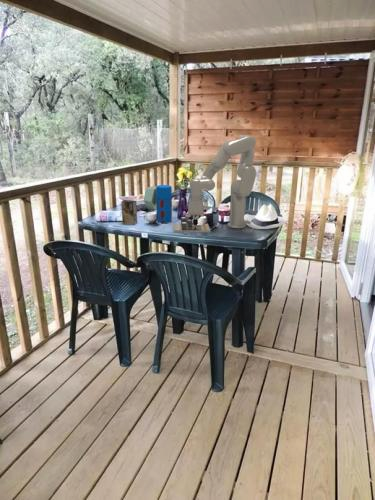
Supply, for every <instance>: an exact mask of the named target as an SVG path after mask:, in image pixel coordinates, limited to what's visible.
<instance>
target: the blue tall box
mask: <svg viewBox="0 0 375 500" xmlns="http://www.w3.org/2000/svg"><path fill="white" fill-rule="evenodd" d="M172 190H173V189H172V185H169V184H159V185H156V205H157V210H156V222H157V223H159V224H168V223H171V222H172V219H173V205H172V203H173V197H172V196H173V193H172V192H173V191H172Z"/></svg>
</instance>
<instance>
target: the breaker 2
mask: <svg viewBox="0 0 375 500" xmlns="http://www.w3.org/2000/svg"><path fill="white" fill-rule="evenodd" d="M187 223H188V222H187V221H186V222H182V229H187Z"/></svg>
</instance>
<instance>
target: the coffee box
mask: <svg viewBox="0 0 375 500" xmlns="http://www.w3.org/2000/svg"><path fill="white" fill-rule="evenodd" d="M120 204H121V215H122V217H121V218H122V225H129V226H130V225H131V226H135V225H137V224H138V212H137V211H138V209H137V208H138V206H137V200H132V199H124V200H122V201H121V202H120Z"/></svg>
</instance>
